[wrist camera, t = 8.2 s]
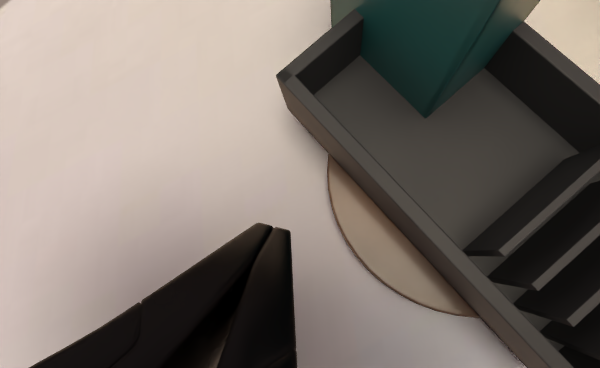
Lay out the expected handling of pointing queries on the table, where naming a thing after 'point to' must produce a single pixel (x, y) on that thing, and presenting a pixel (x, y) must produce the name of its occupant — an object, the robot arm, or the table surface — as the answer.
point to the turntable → (388, 248)
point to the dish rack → (470, 156)
